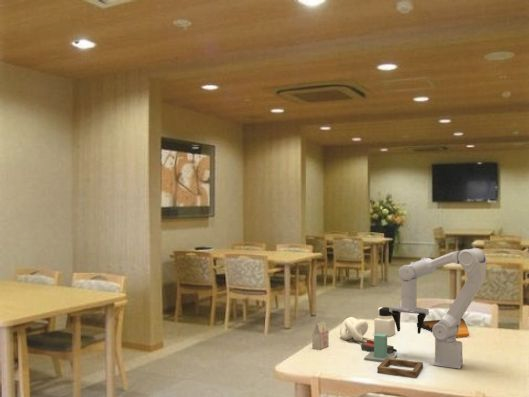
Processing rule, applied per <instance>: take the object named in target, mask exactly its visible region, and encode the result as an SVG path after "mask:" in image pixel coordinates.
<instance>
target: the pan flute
mask: <svg viewBox="0 0 529 397" xmlns="http://www.w3.org/2000/svg"><path fill="white" fill-rule="evenodd" d="M440 320H441V319H435V320H434V319H433V320H432V319H431V320H424V321H423V324H422V327H421V329H422V328H423V329H422V330H425V329H426V331H427V330H428V332H431V333H432V328H433V326H434V325H435V324H436V323H438V322H439V321H440ZM416 326H417V328H418V322H417V323H416ZM467 336H469V337H470V331H469V330H468V326H467V324H466V321H465V319H464V318H463V317H462V318H461V324H460V325H459V331H458V333H457V335H456V339H457V338H458V337H461V338H468V337H467Z"/></svg>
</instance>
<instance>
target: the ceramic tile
mask: <svg viewBox="0 0 529 397" xmlns="http://www.w3.org/2000/svg"><path fill="white" fill-rule="evenodd" d="M386 358H392V359H397V358H398V354H395V353H392V354H388V353H387V356H386V357H385V358H379V357H374V352H368V354H366V355H365V356H364V358H363V360H364V361H369V362H377V363H382V362H383V361H384V360H385V359H386Z"/></svg>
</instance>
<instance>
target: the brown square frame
mask: <svg viewBox="0 0 529 397" xmlns="http://www.w3.org/2000/svg"><path fill="white" fill-rule="evenodd" d="M390 366H394V367H390ZM395 366H396V367H397V368H396V367H395ZM398 367H402V368H398ZM403 367H404V368H403ZM405 368H410V369H405ZM423 368H424V362H422V361H416V360H415V361H413V360H407V359H399V358H395V359H392V358H386V359H385V360H384V361H383V362H380V363H379V365H377V374H382V375H388V376H389V375H391V376H396V377H405V378H410V379H411V378H413V379H417V377H418V376H419V375H420V373H421V372H422V370H423ZM411 369H412V370H411Z"/></svg>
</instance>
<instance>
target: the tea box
mask: <svg viewBox="0 0 529 397" xmlns="http://www.w3.org/2000/svg"><path fill="white" fill-rule="evenodd" d="M311 338H312V339H311V340H312V344H311V345H312V346H311V348H312V350H317V351H322V350H324V348H325V349H327V348H330V347H329V346H330V345H329V344H330V343H329V341H330V339H329V330H328V327H327V324H326V321H322V322H319V323H316V324H315V327H314V330H313V332H312V336H311Z"/></svg>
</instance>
